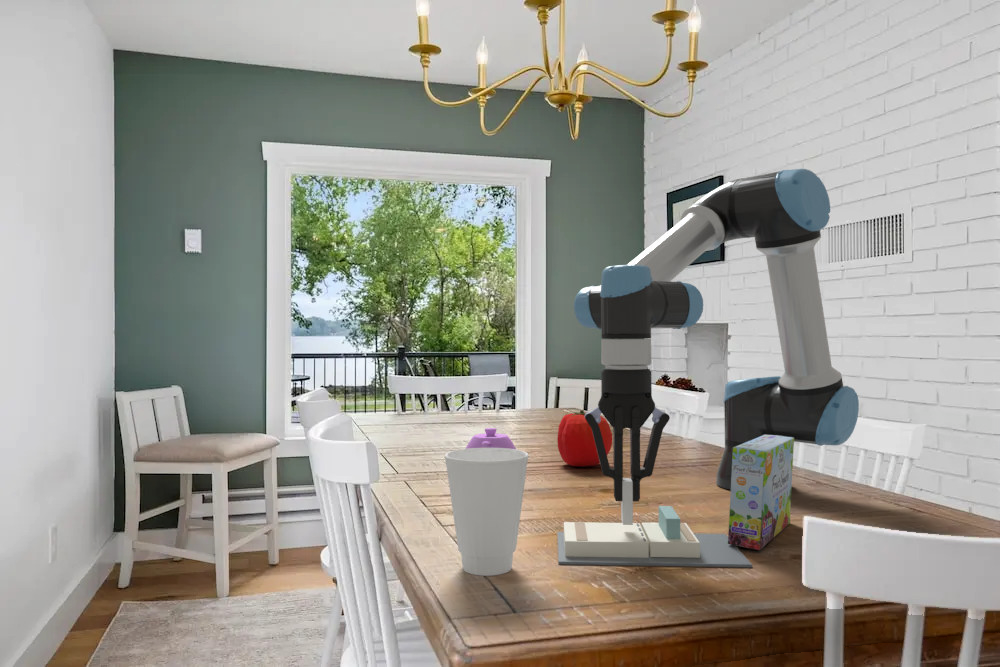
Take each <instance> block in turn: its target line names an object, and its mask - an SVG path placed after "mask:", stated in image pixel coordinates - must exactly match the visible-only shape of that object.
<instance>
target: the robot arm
mask: <svg viewBox="0 0 1000 667" xmlns="http://www.w3.org/2000/svg"><path fill="white" fill-rule="evenodd" d="M683 211H684V212H682V214H681V216H680V220H679V222H677V223H676V224H675V225H674V226H673V227H672V228H670V229H668V230H667V231H666V232H665V233H663V235H661V236H660V237H659V238H658V239H657V240H655V241H654V242H652V244H650V245H649V246H648V247H646V248H645V249H644V250H642V251H641V252H640V253H639V254H637V256H636V257H635V258H633V259H632V260H631V261H629V262H628V263H627V264H619V265H610V266H607V267H605V268H604V269H603V270H602V271H601V272H602V273H601V279H600V280H601V281H600V282H601V283H600V284H599V285H596V284H595V285H594V284H593V285H591V286H586V287H583V288H581V289H580V290H579V291H578V293H577V294H576V296H575V298H574V302H573V311H574V315H575V318H576V320H577V321H578V323H579V324H580V325H581V326H583V327H585V328H587V329H598V330H601V338H600V339H601V341H600V343H601V344H600V345H601V346H600V347H601V349H600V350H601V351H600V352H601V357H600V361H601V364H602V365H603V366H604V367H605V368H602V370H601V372H600V373H601V377H600V378H601V379H600V380H601V382H600V383H601V390H600V391H601V394H600V398H599V401H598V403H597V407H596V408H594V409H593V410H591V411H587V412H586V413H585V415H584V417H585V419H586V421H587V422H588V424H589V425H590V427H591V428H592V433H593V437H594V441H595V445H596V449H597V453H598V457H599V461H600V464H599V465H600V468H601V472H602V474H603V476H604V477H608V478H611V479H612V480H613V496H614V497H613V498H614V500H615V502H620V505H621V506H620V517H621V523H622V524H623V525H633V523H634V507H633V506H634V505H633V503H634V502H640V500H641V480H642V479H643V478H647V477H651V476H652V475H653V472H654V468H655V463H656V460H657V456H658V450H659V446H660V443H661V438H662V434H663V431H664V429H665V427H666V425H667V424H668V422H669V421H670V415H669V414H668V413H666V412H665V411H661V410H660V409H658V407H656V402H655V401H654V399H653V397H652V394H653V393H652V371H651V369H650V368H649V367H648V366H650V365H652V329H673V330H675V329H676V330H680V329H685V328H689V327H692V326H694V325H695V324H696V323H697V322H698V321H699V320H700V319H701V317H702V314H703V312H704V298H703V296H702V293H701V291H700V290H699V288H697V287H696V286H695V285H694V284H692V283H688V282H682V281H681V280H677V281H673V280H674V279H675V278H676V277H677V276H678V275H680V274H681V273H682V272H683V271H684V270H686V268H688V266H690V265H691V264H692V263H693V262H695V260H697V259H698V258H699V257H700V256H702V254H704V253H705V252H707V251H713V250H716V249H717V248H719V246H720V245H721V244H723V243H726V242H729V241H733V240H738V239H748V238H749V239H750V238H754V242H755V248H756V250H758V251H760V253H762V254H763V255H765V257H766V264H767V269H768V275H769V282H770V288H771V295H772V300H773V308H774V312H775V318H776V325H777V331H778V332H777V333H778V338H779V343H780V348H781V350H780V351H781V356H782V361H783V368H784V373H783V375H781V376H780V375H778V376H777V375H776V376H766V377H765V376H764V377H752V378H743V379H735V380H729V381H728V382H727V383H726V384H725V387H724V397H723V398H724V399H723V403H724V406H723V407H724V408H723V410H724V411H723V412H724V449H723V450H724V451H723V453H722V456H721V460H720V462H719V466H718V468H717V471H716V475H715V476H716V485H717V486H718V487H720V488H723V489H727V490H730V491H731V476H732V455H733V447H736V446H738V445H741V444H743V443H746V442H748V441H751V440H753V439H755V438H758V437H760V436H763V435H778V436H785V437H793V438H794V443H795V442H796V443H801V444H803V443H804V444H811V445H817V446H835V447H836V446H840V445H843V444H844V443H846V442H847V441H848V439H850V438H851V436H852V434H853V433H854V431H855V428H856V425H857V422H858V418H859V412H860V411H859V410H860V403H859V401H860V400H859V397H858V396H859V395H858V393H857V392H856V390H855V389H854V388H852V387H850V386H848V385H844V382H843V375H842V373H841V372H840V371H838V370H837V369H835V368H834V367H833V366H832V361H831V354H830V353H831V352H830V348H829V341H828V333H827V326H826V322H825V321H826V320H825V314H824V307H823V299H822V293H821V286H820V280H819V274H818V267H817V260H816V254H815V253H816V252H815V246H816V245H817V243H818V242H819V241H820V239H821V238H822V234H821V230H822V229H824V228H825V227H826V226H827V225H828V223H829V221H830V220H829V219H830V216H831V215H830V213H831V202H830V197H829V193H828V190H827V189H826V186H825V185H824V182H823V181H822V179H821V178H820V177H819V176H818V175H817V174H816V173H815V172H813V171H811V170H810V169H807V168H795V169H794V168H793V169H783V170H780V171H774V172H769V173H765V174H764V173H763V174H760V175H755V176H750V177H744V178H742V177H741V178H737V179H733V180H730V181H727V182H725V183H724V184H722V185H720V186H718V187H717V188H715V189H712V190H711V191H709V192H708V193H707V194H705V195H703V196H702V197H701V198H700V199H698V200H697V201H695V202H694V203H692V204H691V205H690V206H689V207H687V208H686V209H685V210H683ZM601 415H603V417H604V418H605V419H606V420H607V422H608V424H609V426H611V427H612V446H613V447H612V449H613V455H612V456H613V459H612V460H613V467H610V464H609V460H608V455H607V454H606V450H605V446H604V442H603V438H602V434H601V430H600V427H599V425H598V423H600V421H601V418H600V416H601ZM651 415H652V417H651V421H652V422H653V425H652V427H651V432H650V436H649V440H648V444H647V449H646V452H645V457H644V460H643V466H642V467H641V428H642V427H643V426H644V424H645V423H646V422H647V420H648V419H649V418H650V416H651ZM624 429H629V433H630V434H629V436H630V438H629V439H630V440H629V441H630V442H629V443H630V445H629V446H630V450H629V452H630V453H629V455H630V460H629V461H630V477H624V466H623V465H624V460H623V459H624V446H623V445H624Z"/></svg>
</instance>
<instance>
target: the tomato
mask: <svg viewBox="0 0 1000 667" xmlns="http://www.w3.org/2000/svg"><path fill="white" fill-rule="evenodd" d="M566 411H568V412H570V413H569V414H565V415H563V417H562V418H561V420H560V422H559V425H558V430H557V438H556V439H557V449H558V452H559V456H560V457H561V459H562V461H563V462H564V463H565V464H567V465H568V466H572V467H577V468H578V467H584V468H585V467H586V468H587V467H593V466H597V465H600V461H599V457H598V453H597V449H596V445H595V441H594V437H593V433H592V428H591V427H590V425H589V424H588V422H587V421H586V419H585V417H584V415H585V413H587V412H585V410H584V409H580V410H579V411H578V412H577V411H571V410H567V409H566ZM600 418H601V421H600V423H598V425H599V427H600V430H601V434H602V438H603V442H604V446H605V450H606V454H607V456H608V455H609V453H610V451H611V450H612V446H613V432H612V430H611V427H610V423H609V422H608V421H607V419H606V418H605V417H604V416H602V415H600Z"/></svg>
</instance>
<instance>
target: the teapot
mask: <svg viewBox="0 0 1000 667" xmlns="http://www.w3.org/2000/svg"><path fill="white" fill-rule="evenodd" d="M497 430H498V429H497V428H495V427H485V429H484V433H478V434H475V435H473V436H472V437H471V439H470V441H469V442H468V444H467V445H466V447H465V449H469V448H507V449H516V450H517V448H516V446H515V444H514V443H513V441H512V440H511V437H510V436H508V435H507V434H504V433H497Z"/></svg>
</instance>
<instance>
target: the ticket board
mask: <svg viewBox="0 0 1000 667" xmlns="http://www.w3.org/2000/svg"><path fill="white" fill-rule="evenodd" d="M556 532H557V533H556V534H557V535H556V536H557V560H558V563H557V564H558V565H571V566H572V565H573V566H574V565H575V566H576V565H579V566H581V565H582V566H634V567H635V566H636V567H637V566H640V567H641V566H642V567H643V566H645V567H647V566H649V567H695V568H696V567H700V568H703V567H704V568H706V567H707V568H708V567H709V568H716V567H717V568H752V567H753V564H752V563H751V562H750V561H749V559H748V558H747V557H746V556H745V555H744V553H743V552H742V551H741V550H740V549H739V547H738V546H735V545H731V544H728V535H727V534H726V533H701V532H700V533H694V532H693V534H694V535H695V536H696V538H697V539H698V541H699V542H700V558H684V557H650V554H649V548H648V540H647V538H646V536H645V534H644V532H643V530H642V527H641V523H639V522H633V525H623V524H622V522H593V521H592V522H590V521H589V522H586V521H585V522H583V521H582V522H581V521H580V522H579V521H576V522H575V521H574V522H573V521H572V522H571V521H570V522H569V521H568V522H567V521H563V531H556Z"/></svg>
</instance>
